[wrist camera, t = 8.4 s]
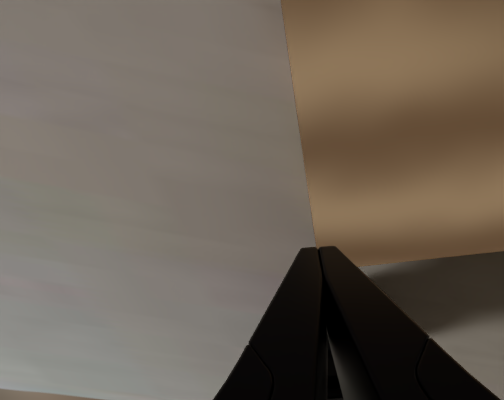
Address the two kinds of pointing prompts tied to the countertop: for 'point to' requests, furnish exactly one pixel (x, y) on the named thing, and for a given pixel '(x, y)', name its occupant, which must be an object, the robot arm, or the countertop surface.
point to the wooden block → (401, 124)
